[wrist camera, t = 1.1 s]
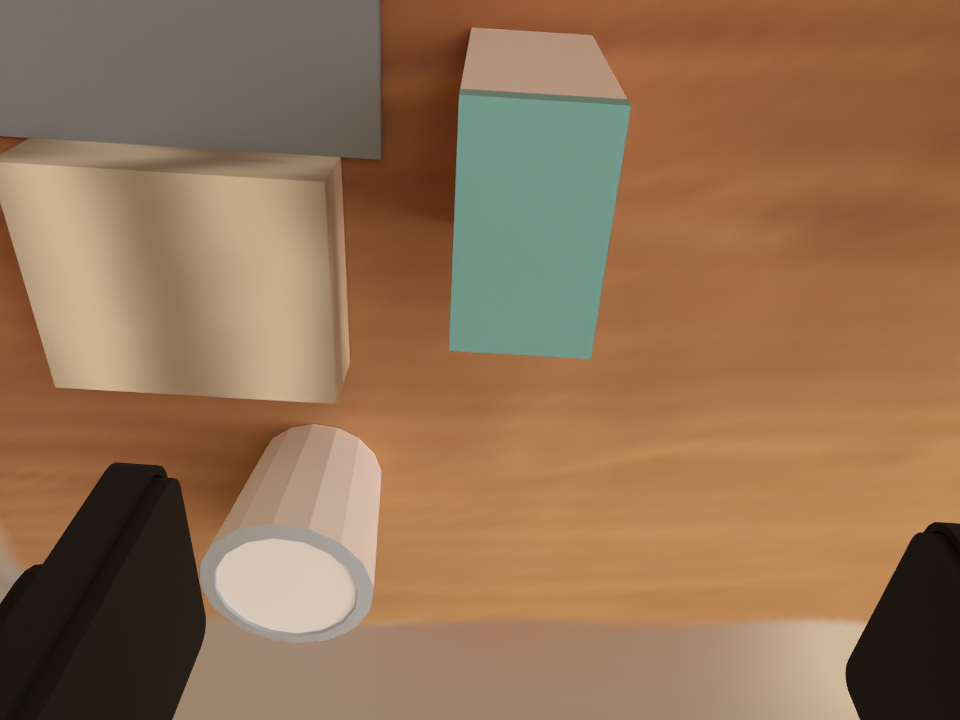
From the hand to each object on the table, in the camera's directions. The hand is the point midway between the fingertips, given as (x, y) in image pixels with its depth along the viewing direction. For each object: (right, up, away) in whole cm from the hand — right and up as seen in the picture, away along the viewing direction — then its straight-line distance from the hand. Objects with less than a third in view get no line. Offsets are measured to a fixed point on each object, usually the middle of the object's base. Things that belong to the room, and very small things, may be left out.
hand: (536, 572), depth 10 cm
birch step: (-11, +7, +20) cm, 24 cm away
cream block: (+1, +11, +17) cm, 20 cm away
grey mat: (-11, +15, +15) cm, 24 cm away
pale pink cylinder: (-8, -2, +26) cm, 27 cm away
